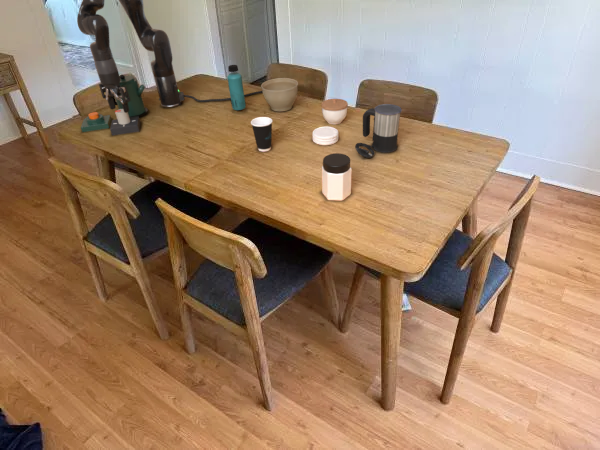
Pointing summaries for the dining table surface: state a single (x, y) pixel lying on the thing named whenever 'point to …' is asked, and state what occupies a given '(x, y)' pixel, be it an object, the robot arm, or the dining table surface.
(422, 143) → the dining table surface
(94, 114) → the button
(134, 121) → the dial base
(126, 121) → the dial
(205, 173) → the dining table surface
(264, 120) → the dixie cup
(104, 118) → the switch block
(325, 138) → the coaster
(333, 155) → the jar
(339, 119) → the trinket box
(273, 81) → the planter bowl
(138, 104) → the kettle
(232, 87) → the beverage bottle
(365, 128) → the milk frother
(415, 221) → the dining table surface
